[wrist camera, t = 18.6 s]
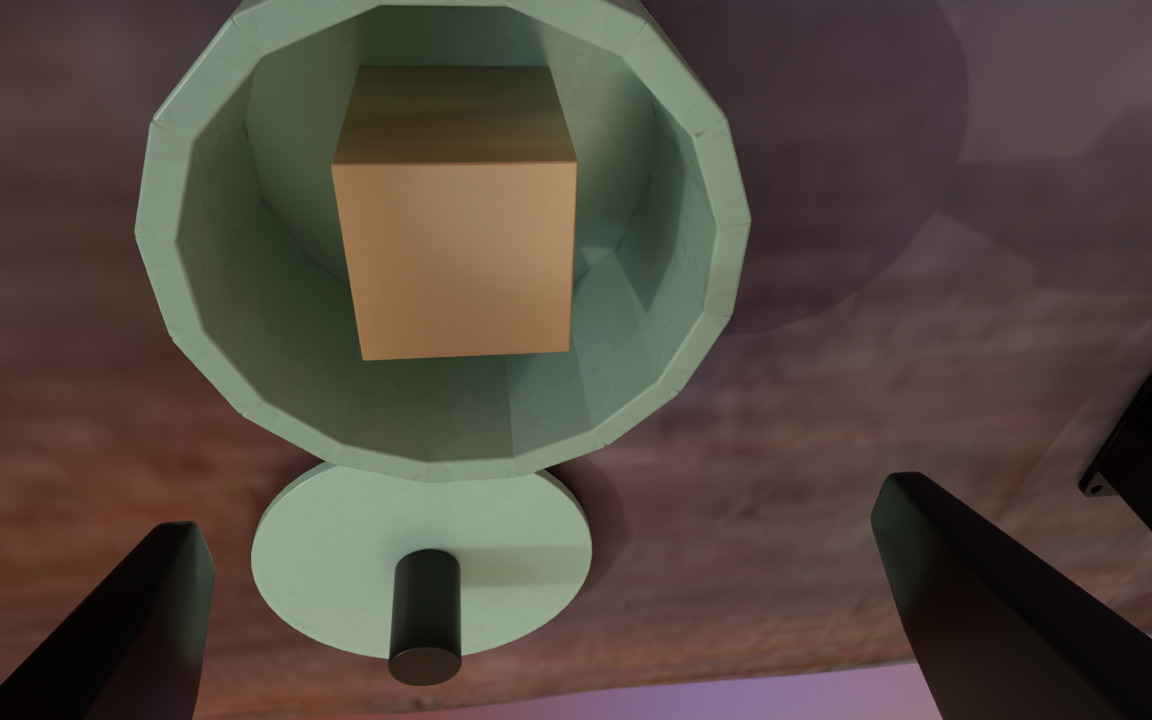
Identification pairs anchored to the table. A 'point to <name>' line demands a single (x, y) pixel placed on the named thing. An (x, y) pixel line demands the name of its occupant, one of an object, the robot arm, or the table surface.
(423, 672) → the lid
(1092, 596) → the robot arm
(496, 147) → the block
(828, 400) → the table surface
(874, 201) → the table surface
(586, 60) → the tin
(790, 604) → the table surface
